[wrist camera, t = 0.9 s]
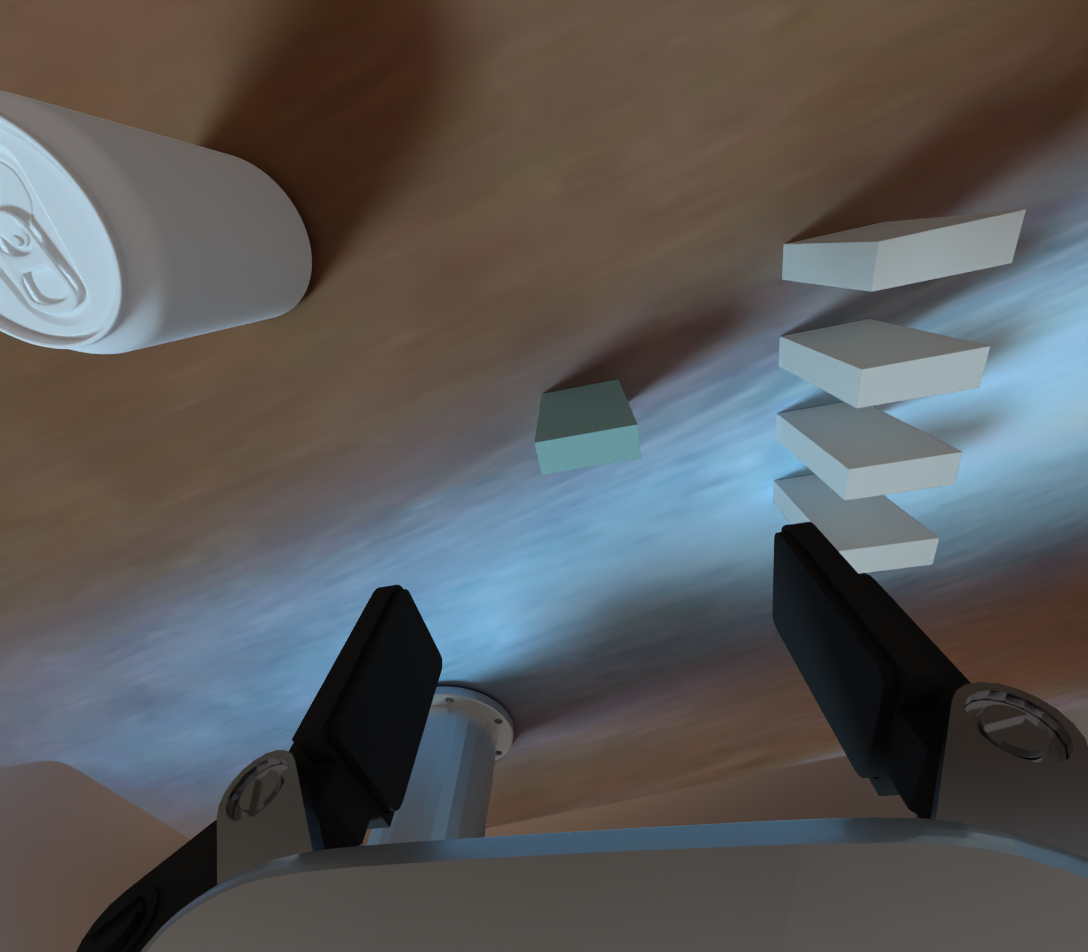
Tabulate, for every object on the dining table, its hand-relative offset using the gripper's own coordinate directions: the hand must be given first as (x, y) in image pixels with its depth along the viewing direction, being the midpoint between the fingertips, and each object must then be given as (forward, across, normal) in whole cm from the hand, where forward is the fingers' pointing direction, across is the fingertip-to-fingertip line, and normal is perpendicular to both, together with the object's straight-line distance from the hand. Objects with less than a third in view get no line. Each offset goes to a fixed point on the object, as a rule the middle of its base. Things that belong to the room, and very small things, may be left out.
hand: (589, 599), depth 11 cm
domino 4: (+19, -15, +6) cm, 25 cm away
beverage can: (+19, +17, -12) cm, 28 cm away
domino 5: (+19, -15, +11) cm, 26 cm away
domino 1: (+19, 0, +1) cm, 19 cm away
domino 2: (+19, -15, -4) cm, 25 cm away
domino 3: (+19, -15, +1) cm, 24 cm away
